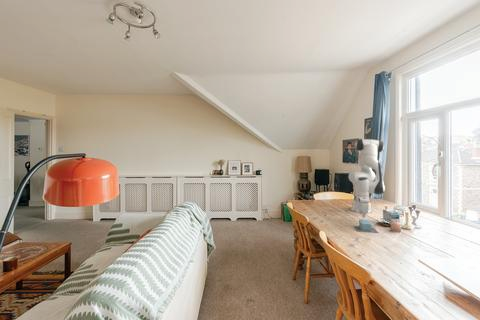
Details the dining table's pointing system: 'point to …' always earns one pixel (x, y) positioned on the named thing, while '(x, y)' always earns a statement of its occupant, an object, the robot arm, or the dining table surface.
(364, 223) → the block
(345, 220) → the dining table surface
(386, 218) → the light bulb box
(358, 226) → the mat
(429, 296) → the dining table surface
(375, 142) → the robot arm
